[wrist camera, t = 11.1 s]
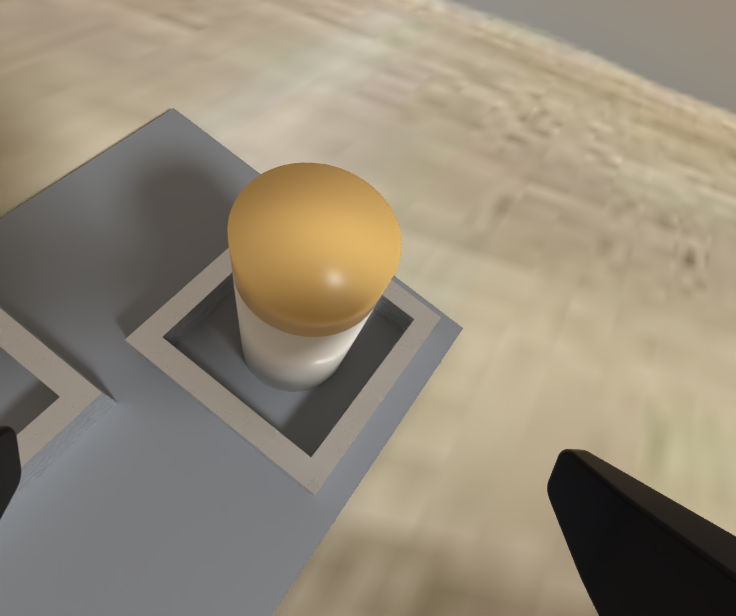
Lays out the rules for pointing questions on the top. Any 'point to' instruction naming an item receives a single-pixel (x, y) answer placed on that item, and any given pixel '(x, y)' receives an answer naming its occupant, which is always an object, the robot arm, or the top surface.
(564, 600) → the top surface
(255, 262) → the orange and white cylinder
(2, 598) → the slate panel
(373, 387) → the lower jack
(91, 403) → the grey square frame
